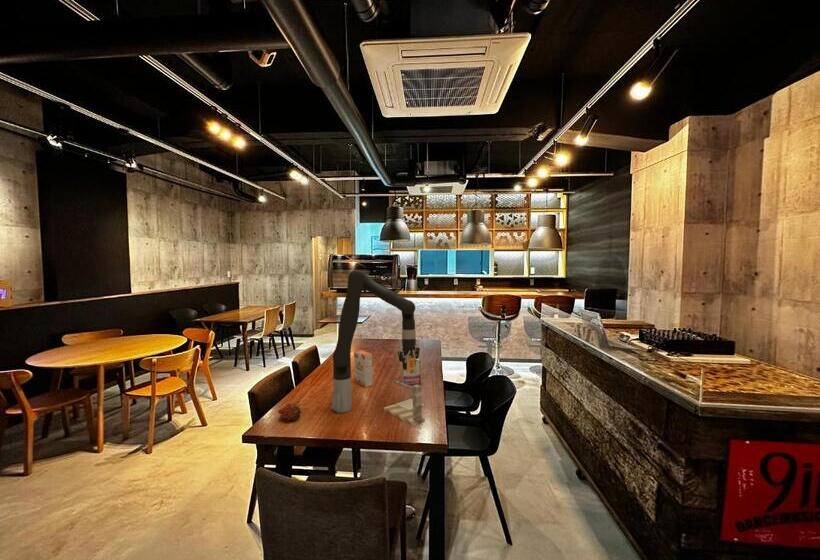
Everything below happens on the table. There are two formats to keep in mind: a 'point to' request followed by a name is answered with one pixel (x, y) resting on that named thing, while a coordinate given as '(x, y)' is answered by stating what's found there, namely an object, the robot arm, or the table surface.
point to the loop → (412, 363)
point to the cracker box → (363, 368)
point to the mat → (407, 404)
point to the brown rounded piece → (290, 412)
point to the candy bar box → (412, 375)
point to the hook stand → (404, 414)
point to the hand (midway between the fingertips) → (409, 367)
